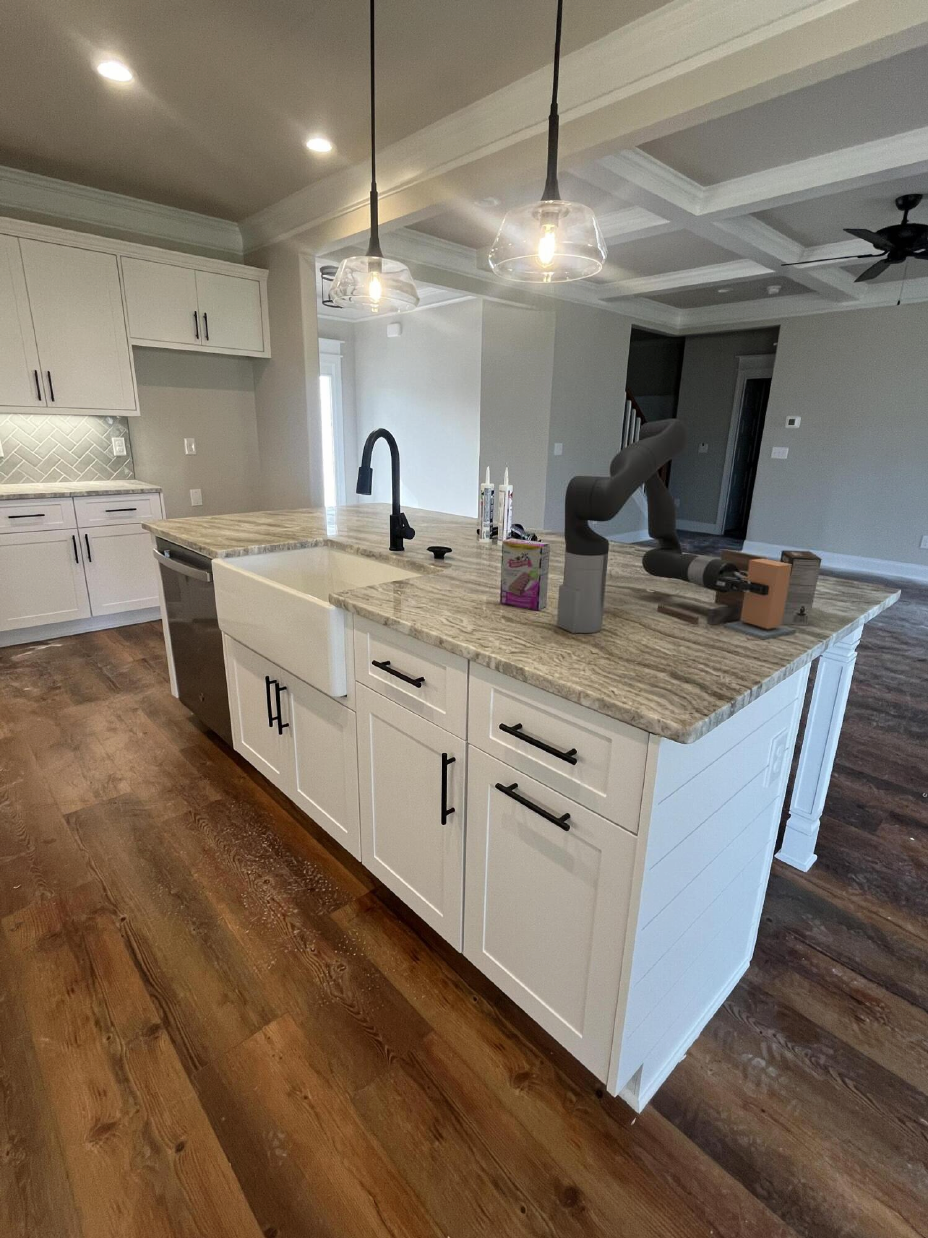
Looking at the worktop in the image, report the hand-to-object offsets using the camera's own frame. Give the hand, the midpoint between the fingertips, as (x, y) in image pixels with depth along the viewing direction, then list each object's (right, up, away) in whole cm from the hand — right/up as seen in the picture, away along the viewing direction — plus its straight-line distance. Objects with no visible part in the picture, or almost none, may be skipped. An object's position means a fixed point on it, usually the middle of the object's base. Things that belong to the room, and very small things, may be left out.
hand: (775, 589), depth 133 cm
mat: (-1, -9, +5) cm, 10 cm away
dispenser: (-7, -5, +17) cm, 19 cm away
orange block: (-1, -7, +4) cm, 9 cm away
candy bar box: (-53, -3, +21) cm, 57 cm away
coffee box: (+10, -7, +13) cm, 18 cm away
